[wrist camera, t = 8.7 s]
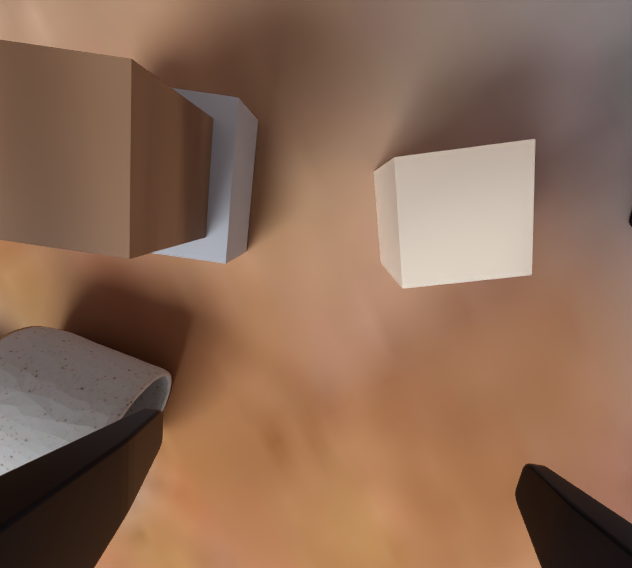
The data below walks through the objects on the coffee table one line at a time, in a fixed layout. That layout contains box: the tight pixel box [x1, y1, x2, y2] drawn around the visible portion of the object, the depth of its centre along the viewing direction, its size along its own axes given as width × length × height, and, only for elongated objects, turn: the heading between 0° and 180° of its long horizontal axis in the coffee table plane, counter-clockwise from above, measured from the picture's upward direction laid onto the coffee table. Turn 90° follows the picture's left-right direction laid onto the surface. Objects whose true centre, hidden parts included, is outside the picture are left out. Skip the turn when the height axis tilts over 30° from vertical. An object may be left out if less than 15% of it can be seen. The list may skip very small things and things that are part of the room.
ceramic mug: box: [0, 326, 172, 475], centre depth 18 cm, size 11×8×8 cm
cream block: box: [374, 139, 535, 289], centre depth 16 cm, size 5×5×6 cm
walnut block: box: [0, 40, 214, 259], centre depth 12 cm, size 5×5×6 cm
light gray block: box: [152, 88, 258, 264], centre depth 17 cm, size 7×7×4 cm
